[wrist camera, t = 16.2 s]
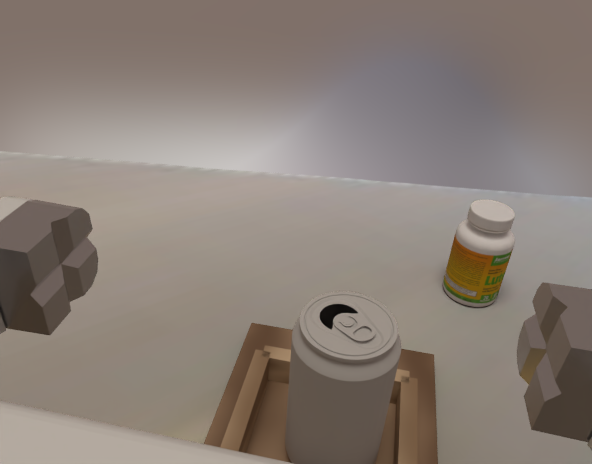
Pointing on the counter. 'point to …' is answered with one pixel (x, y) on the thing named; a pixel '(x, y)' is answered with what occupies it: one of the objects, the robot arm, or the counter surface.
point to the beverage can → (340, 379)
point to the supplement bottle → (480, 254)
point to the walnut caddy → (274, 397)
